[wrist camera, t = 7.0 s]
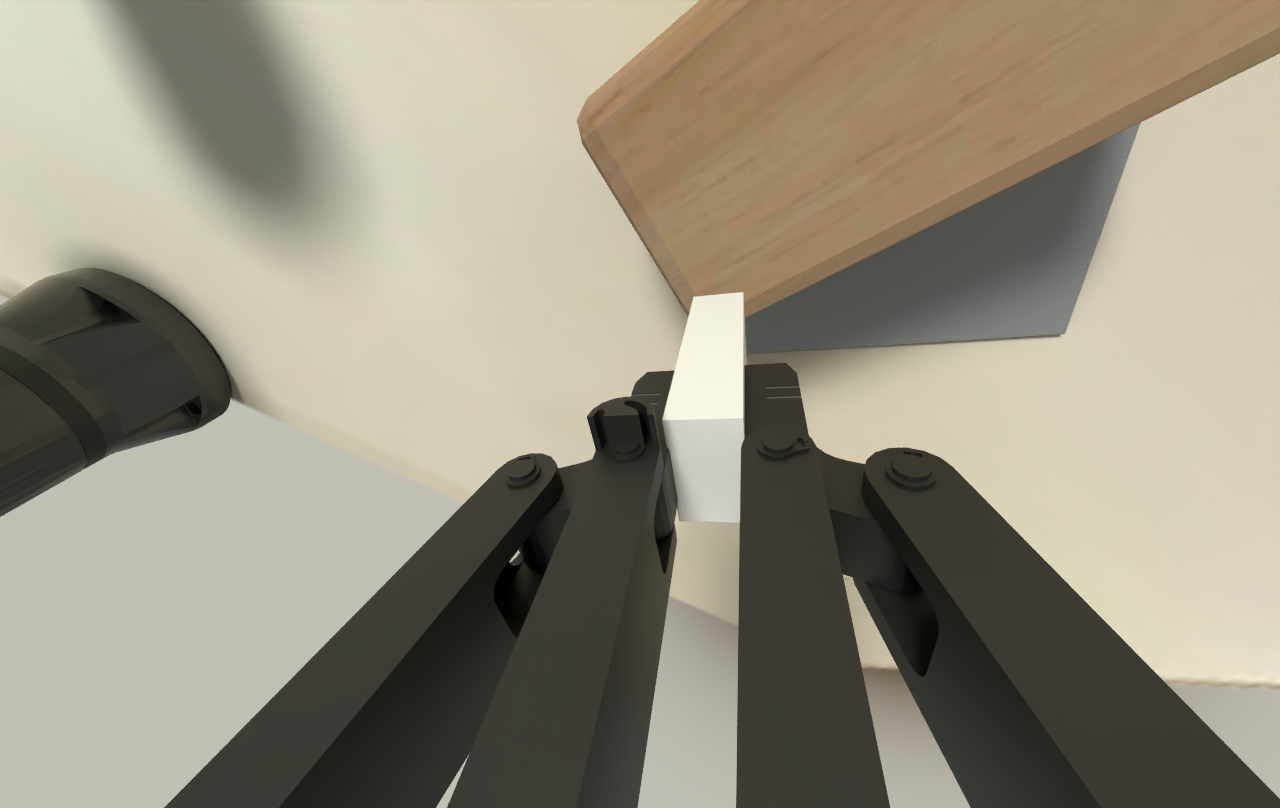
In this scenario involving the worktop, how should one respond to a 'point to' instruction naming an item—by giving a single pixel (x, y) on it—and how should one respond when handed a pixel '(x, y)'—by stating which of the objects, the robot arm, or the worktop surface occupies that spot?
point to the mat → (964, 269)
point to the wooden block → (878, 119)
